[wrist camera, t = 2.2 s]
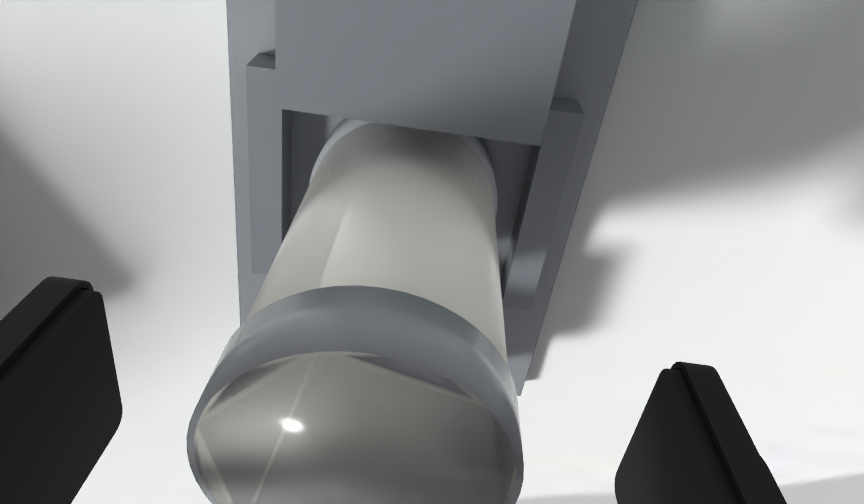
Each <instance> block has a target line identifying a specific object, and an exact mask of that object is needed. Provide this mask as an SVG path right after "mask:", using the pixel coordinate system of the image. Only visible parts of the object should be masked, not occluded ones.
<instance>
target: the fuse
mask: <svg viewBox="0 0 864 504" xmlns="http://www.w3.org/2000/svg"><path fill="white" fill-rule="evenodd" d="M496 213H497V188H496V178H495V170H494V164H493V161H492V157H491V154H490V152H489V149H488V147H487V145H486V143H485V142H484V140H483V138H480V137H473V136H466V135H459V134H452V133H445V132H438V131H431V130H424V129H417V128H410V127H403V126H396V125H389V124H382V123H375V122H368V121H362V120H355V119H348V118H344V119H342V120H341V121H340V122H339V123H338V124H337V126H336V127H335V128H334V129H333V130H332V132H331V134H330V135H329V137H328V138H327V140H326V142H325V144H324V146H323V148H322V150H321V152H320V154H319V156H318V158H317V161H316V163H315V165H314V168H313V170H312V174H311V178H310V183H309V188H308V190H307V192H306V194H305V196H304V198H303V200H302V202H301V205H300V207H299V209H298V211H297V213H296V215H295V217H294V219H293V221H292V224H291V226H290V228H289V230H288V232H287V234H286V236H285V238H284V240H283V243H282V245H281V247H280V249H279V251H278V253H277V255H276V257H275V259H274V262H273V264H272V266H271V268H270V270H269V272H268V274H267V276H266V279H265V281H264V283H263V285H262V287H261V289H260V291H259V293H258V295H257V298H256V300H255V302H254V304H253V306H252V308H251V310H250V312H249V314H248V317H247V319H246V321H245V322H244V323H243V324H242V325H241V326H240V328H239V329H238V330H237V331H236V332H235V333H234V334H233V336H232V337H231V339H230V340H229V342H228V343H227V345H226V347H225V349H224V351H223V353H222V355H221V357H220V359H219V361H218V363H217V365H216V367H215V369H214V371H213V373H212V375H211V377H210V379H209V381H208V383H207V385H206V387H205V389H204V392H203V394H202V396H201V398H200V400H199V402H198V404H197V406H196V408H195V410H194V413H193V415H192V418H191V420H190V422H189V428H188V433H187V454H188V459H189V463H190V467H191V470H192V472H193V474H194V477H195V479H196V481H197V483H198V485H199V486H200V488H201V489H202V491H203V493H204V494H205V495H206V497H207V498H208V499H209V500H210V502H211V503H212V504H515V503H516V501H517V499H518V497H519V494H520V491H521V487H522V483H523V470H524V463H523V453H522V443H521V433H520V422H519V412H518V402H517V395H516V389H515V383H514V381H513V378H512V375H511V372H510V370H509V368H508V365H507V353H506V341H505V330H504V318H503V306H502V295H501V283H500V271H499V260H498V248H497V236H496V225H495V219H496Z"/></svg>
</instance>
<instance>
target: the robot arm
mask: <svg viewBox="0 0 864 504" xmlns="http://www.w3.org/2000/svg"><path fill="white" fill-rule="evenodd" d="M121 418H122V403H121V397H120V392H119V386H118V380H117V375H116V369H115V364H114V358H113V352H112V347H111V341H110V336H109V330H108V324H107V319H106V313H105V308H104V302H103V298H102V295H101V294H100V292H97V291H94V290H93V287H92V285H91V284H90V283H89V282H87V281H82V280H75V279H68V278H60V277H53V276H52V277H47V278H46V279H44V280H43V281H42V282H41V283H40V284H39V285H38V286H37V287H36V288H34V289H33V290H32V291H31V292H30V293H29V294H28V295H27V296H26V297H25V298H24V299H23V300H22V301H21V302H20V303H19V304H18V305H17V306H16V307H15V308H14V309H13V310H12V311H10V312H9V313H8V314H7V315H6V316H5V317H4V318H3V319H2V320H1V321H0V504H71V503H72V501H73V499H74V498H75V496H76V495H77V493H78V491H79V490H80V488H81V487H82V485H83V483H84V482H85V480H86V479H87V477H88V476H89V474H90V472H91V471H92V469H93V468H94V466H95V464H96V463H97V461H98V460H99V458H100V456H101V455H102V453H103V452H104V450H105V448H106V447H107V445H108V444H109V442H110V440H111V439H112V437H113V436H114V434H115V433H116V431H117V429H118V427H119V424H120V422H121ZM615 494H616V499H617V503H618V504H787V503H786V501H785V499H784V497H783V495H782V493H781V491H780V489H779V487H778V485H777V483H776V482H775V480H774V478H773V476H772V474H771V472H770V470H769V468H768V466H767V464H766V463H765V461H764V460H763V458H762V457H761V456H760V455H759V453H758V451H757V449H756V447H755V445H754V443H753V441H752V439H751V437H750V435H749V433H748V431H747V429H746V427H745V425H744V423H743V421H742V419H741V417H740V415H739V413H738V411H737V410H736V408H735V406H734V404H733V402H732V400H731V398H730V396H729V394H728V392H727V390H726V388H725V386H724V384H723V382H722V380H721V378H720V376H719V374H718V372H717V371H716V369H715V368H714V367H712V366H708V365H700V364H693V363H686V362H676V363H675V364H673V366H672V367H671V369H663V370H662V371H661V373H660V375H659V377H658V379H657V381H656V384H655V386H654V388H653V390H652V393H651V395H650V397H649V400H648V402H647V404H646V406H645V409H644V411H643V413H642V415H641V418H640V420H639V422H638V425H637V427H636V429H635V431H634V434H633V436H632V438H631V440H630V443H629V445H628V447H627V450H626V452H625V454H624V456H623V459H622V461H621V463H620V465H619V468H618V470H617V473H616V477H615Z"/></svg>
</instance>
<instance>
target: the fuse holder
mask: <svg viewBox="0 0 864 504" xmlns="http://www.w3.org/2000/svg"><path fill="white" fill-rule="evenodd" d="M637 1H638V0H226V3H227V26H228V49H229V73H230V96H231V119H232V142H233V165H234V188H235V212H236V235H237V258H238V281H239V304H240V326H241V325H242V324H243V323H244V322H245V321H246V319H247V317H248V314H249V312H250V310H251V308H252V306H253V304H254V302H255V300H256V298H257V295H258V293H259V291H260V289H261V287H262V285H263V283H264V281H265V279H266V276H267V274H268V272H269V270H270V268H271V266H272V264H273V262H274V259H275V257H276V255H277V253H278V251H279V249H280V247H281V245H282V243H283V240H284V238H285V236H286V234H287V232H288V230H289V228H290V226H291V224H292V221H293V219H294V217H295V215H296V213H297V211H298V209H299V207H300V205H301V202H302V200H303V198H304V196H305V194H306V192H307V190H308V188H309V183H310V178H311V174H312V170H313V168H314V165H315V163H316V161H317V158H318V156H319V154H320V152H321V150H322V148H323V146H324V144H325V142H326V140H327V138H328V137H329V135H330V134H331V132H332V130H333V129H334V128H335V127H336V126H337V124H338V123H339V122H340V121H341V120H342V119H344V118H348V119H355V120H362V121H368V122H375V123H382V124H389V125H396V126H403V127H410V128H417V129H424V130H431V131H438V132H445V133H452V134H459V135H466V136H473V137H480V138H483V140H484V142H485V143H486V145H487V147H488V149H489V152H490V154H491V157H492V161H493V164H494V170H495V178H496V188H497V213H496V219H495V225H496V236H497V248H498V260H499V271H500V283H501V295H502V306H503V318H504V330H505V341H506V353H507V365H508V368H509V370H510V372H511V375H512V378H513V381H514V383H515V389H516V395H518V396H521V393H522V389H523V386H524V383H525V379H526V376H527V372H528V369H529V366H530V362H531V359H532V356H533V352H534V349H535V345H536V342H537V339H538V335H539V332H540V328H541V325H542V322H543V318H544V315H545V312H546V308H547V305H548V301H549V298H550V295H551V291H552V288H553V285H554V281H555V278H556V274H557V271H558V268H559V264H560V261H561V258H562V254H563V251H564V247H565V244H566V241H567V237H568V234H569V231H570V227H571V224H572V220H573V217H574V214H575V210H576V207H577V204H578V200H579V197H580V193H581V190H582V187H583V183H584V180H585V177H586V173H587V170H588V166H589V163H590V160H591V156H592V153H593V150H594V146H595V143H596V139H597V136H598V133H599V129H600V126H601V123H602V119H603V116H604V112H605V109H606V106H607V102H608V99H609V96H610V92H611V89H612V85H613V82H614V79H615V75H616V72H617V68H618V65H619V62H620V58H621V55H622V52H623V48H624V45H625V41H626V38H627V35H628V31H629V28H630V25H631V21H632V18H633V14H634V11H635V8H636V4H637Z"/></svg>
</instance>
